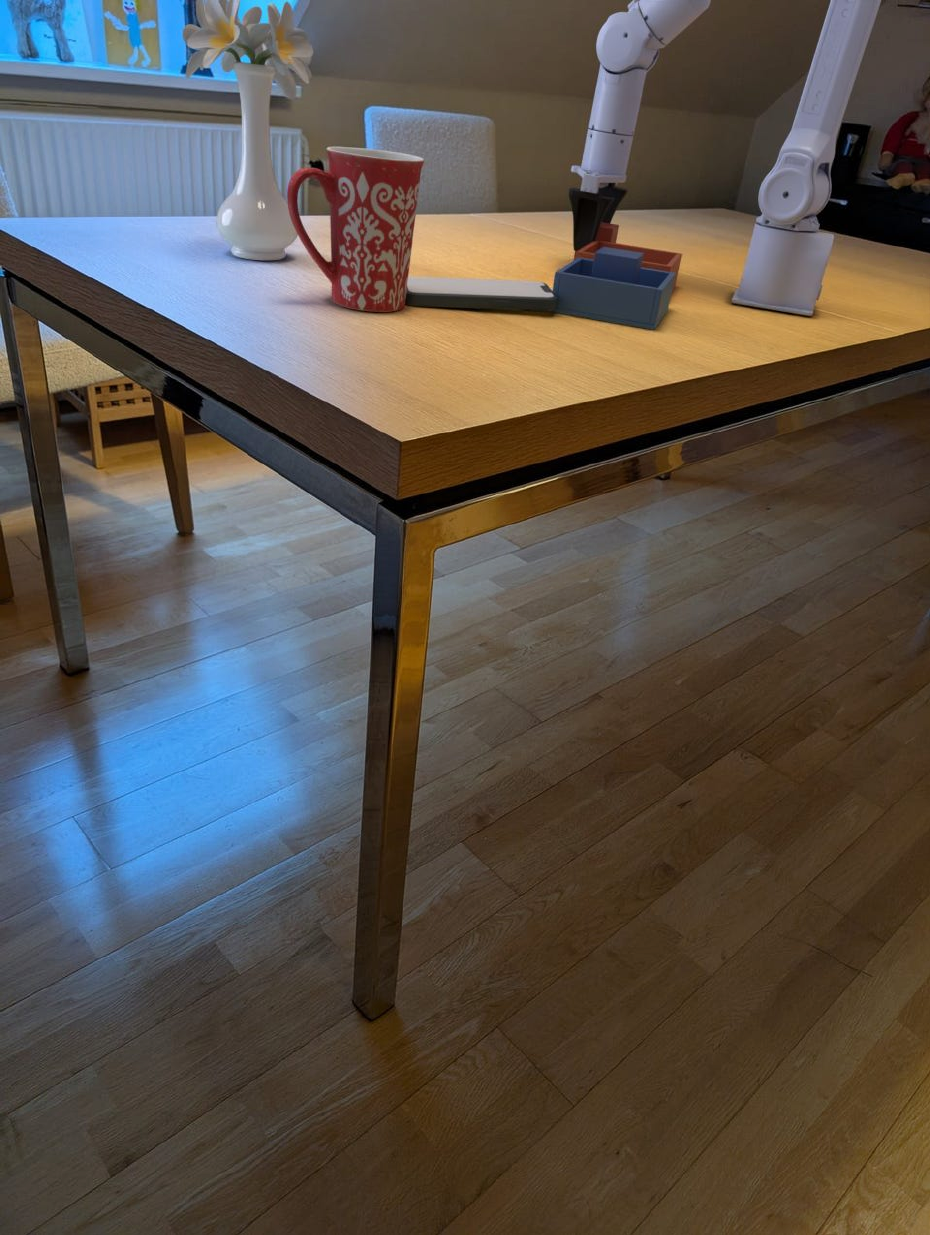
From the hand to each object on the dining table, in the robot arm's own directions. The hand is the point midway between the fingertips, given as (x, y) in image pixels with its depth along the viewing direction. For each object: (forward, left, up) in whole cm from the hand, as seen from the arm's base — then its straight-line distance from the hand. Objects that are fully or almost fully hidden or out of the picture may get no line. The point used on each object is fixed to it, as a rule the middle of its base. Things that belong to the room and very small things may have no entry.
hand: (587, 247), depth 117 cm
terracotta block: (-1, 0, -2) cm, 3 cm away
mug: (+15, +41, -3) cm, 44 cm away
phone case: (+5, +31, -3) cm, 32 cm away
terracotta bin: (-7, +9, -2) cm, 12 cm away
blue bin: (-8, +24, -2) cm, 26 cm away
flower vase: (+34, +27, -3) cm, 44 cm away
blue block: (-8, +24, -2) cm, 26 cm away
